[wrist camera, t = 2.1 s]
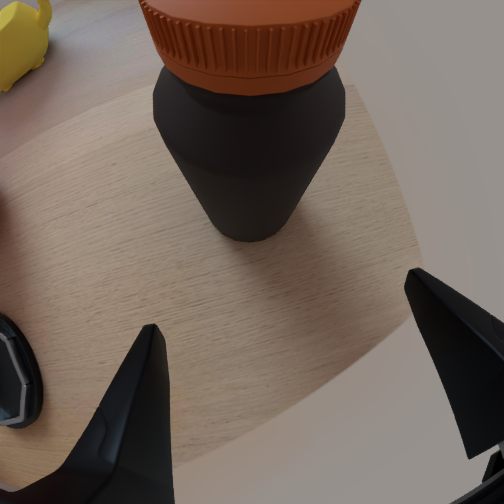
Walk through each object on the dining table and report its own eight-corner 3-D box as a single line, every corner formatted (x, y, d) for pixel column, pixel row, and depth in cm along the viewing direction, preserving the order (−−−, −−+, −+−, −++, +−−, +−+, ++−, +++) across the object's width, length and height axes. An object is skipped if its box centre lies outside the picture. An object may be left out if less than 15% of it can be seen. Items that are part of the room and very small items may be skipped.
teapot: (78, 8, 27) (51, -39, 16) (85, 45, 26) (49, -12, 15) (-15, 76, 26) (-51, 44, 15) (-20, 124, 25) (-67, 91, 14)
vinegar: (221, 254, 24) (100, 128, 4) (196, 176, 24) (96, -41, 4) (303, 227, 24) (463, 57, 4) (274, 151, 25) (318, -80, 5)
